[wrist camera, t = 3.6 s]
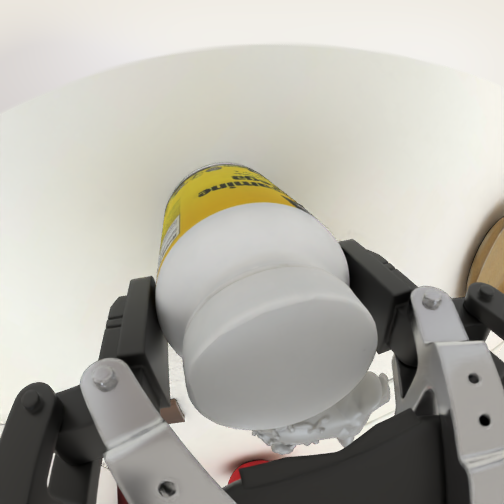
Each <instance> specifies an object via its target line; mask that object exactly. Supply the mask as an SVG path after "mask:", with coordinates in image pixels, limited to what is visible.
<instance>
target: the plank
mask: <svg viewBox="0 0 504 504" xmlns="http://www.w3.org/2000/svg"><path fill="white" fill-rule="evenodd" d="M170 403H171V407H169V408H161V409H160V413H161V417H162V418H163V419H164V420H165V421H166V422H167V423H168V424H171V423H179V422H185V420H184V415H183V414H182V412H181V410H180V408H179V406H178V404H177V402H176V399H171V400H170Z"/></svg>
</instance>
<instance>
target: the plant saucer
mask: <svg viewBox="0 0 504 504" xmlns="http://www.w3.org/2000/svg"><path fill="white" fill-rule="evenodd" d="M475 282H482V283H486V284H489V285H491V286H493V287H494V288H496V289H497V290H499V291H500V292H502V293H503V294H504V217H503V218H501V219H500V220H499V221H498V222H497V223H496V224H495V225H494V226H493V227H492V228H491V230H490V231H489V232H488V234H487V235H486V237H485V238H484V240H483V242H482V243H481V245H480V247H479V249H478V251H477V253H476V256H475V258H474V261H473V263H472V266H471V269H470V273H469V276H468V281H467V289H466V294H467V291H468V287H469V286H470V285H471V284H472V283H475Z"/></svg>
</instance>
